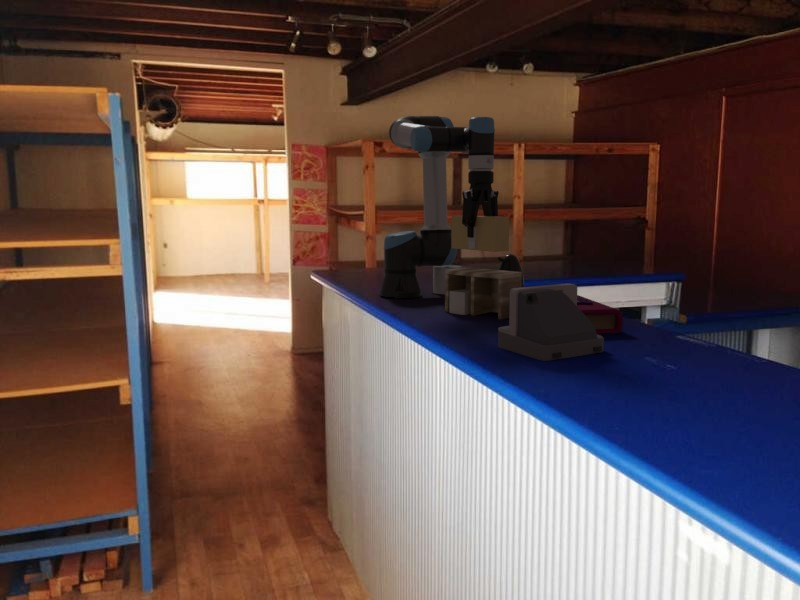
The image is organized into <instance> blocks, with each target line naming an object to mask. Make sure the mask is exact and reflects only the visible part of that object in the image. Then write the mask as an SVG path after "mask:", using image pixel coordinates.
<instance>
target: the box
mask: <svg viewBox="0 0 800 600" xmlns="http://www.w3.org/2000/svg"><path fill="white" fill-rule="evenodd" d="M448 313H449V314H455V315H461V316H467V315H471V289H466V288H465V289H459V290H453V291H450V302H449V312H448Z"/></svg>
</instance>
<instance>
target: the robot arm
mask: <svg viewBox="0 0 800 600" xmlns="http://www.w3.org/2000/svg"><path fill="white" fill-rule="evenodd" d="M495 132H496V130H495V119H494V118H493V117H491V116H475V117H473V116H472V117H470V119H469V121H468V126H454V123H453V122H452V120H451V119H450V118H449V117H446V116H438V115H430V116H429V115H408V116H407V115H406V116H403V117H399V118H397V119H395V120H394V121H393V122H392V123H391V125H390V127H389V129H388V137H389V139H390V141H391V143H392V144H394V146H396V147H398V148H401V149H408V150H413V152H418V153H417V154H418V156H419V157H420V158H421V159H422V187H423V188H422V189H423V226H421V228H420V230H419V233H420V234H417V231H415V230H407V231H399V232H393V233H389V234H387V235H386V236H385V237H384V239H383V240H384V243H383V250H384V251H383V252H384V253H383V254H384V256H383V259H384V262H383V263H384V264H383V265H384V266H383V267H384V276H383V279H382V283H381V287H380V289H379V296H380V295H382V296H386V297H396V298H395V299H413V298H414V299H415V298H418V297H421V296H422V289H421V287H420V283H419V279H418V277H417V267H433V266H444V265H452V264H453V263H454V261H455V260H456V257H457V254H458V249H456V248H451V231H452V227H451V226H450V225H449V224H448V193H447V191H448V188H447V187H448V184H447V182H448V181H447V158H448V157H449V156H450V155H451V153H462V154H463V153H464V154H466V153H467V154H468V161H467V162H468V163H467V164H468V166H467V168H468V170H470V171H468V175H467V177H468V179H467V181H468V184H469V189H468V190H464V191H462V199H463V200H462V201H463V202H462V214H461V215H462V224H463V225H465V226H466V227H467V236H468V248H470V249H476V245H477V227H474V226H475V222H476V217H477V216H478V213H479V209H480V206H481V207H482V212H483V216H499V207H498V206H499V204H498V203H499V202H498V200H499V199H498V197H499V191H498V190H493V187H492V184H494V180H495V179H494V175H495V173H494V171H492V170H494V168H495V167H494V163H495V162H494V161H495V160H494V155H495V154H494V153H495ZM466 220H467V221H466Z"/></svg>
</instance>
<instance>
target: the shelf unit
mask: <svg viewBox="0 0 800 600" xmlns="http://www.w3.org/2000/svg"><path fill="white" fill-rule="evenodd" d="M467 267H468V266H465V267H464V268H457V269H449V270H445V294H444V312H447V313H449V302H450V291H453V290H459V289H465V288H466V289H471V314H470V316H473V317H474V316H478V315H483V314H487V313H497V320H506V319H509V312H510V290H511V289H512V288H521V279H522V272H523V271H522V272H515V271H503V270H498V269H490V268H479V267H478V268H477V267H469V268H467Z"/></svg>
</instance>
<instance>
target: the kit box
mask: <svg viewBox="0 0 800 600" xmlns="http://www.w3.org/2000/svg"><path fill="white" fill-rule="evenodd" d="M462 215H463V214H461V215H451V229H452V231H451V248H456V249H457V250H458V249H459V250H469V251H478V252H479V251H480V252H493V253H497V252H507V251H508V252H509V247H510V246H509V243H510V216H499V215H498V216H484V215H477V217H476V222H475V226H474V227H477V245H476V249H470V248H468V236H467V227H466V226H465V225H463V224H462ZM466 221H467V220H466Z"/></svg>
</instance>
